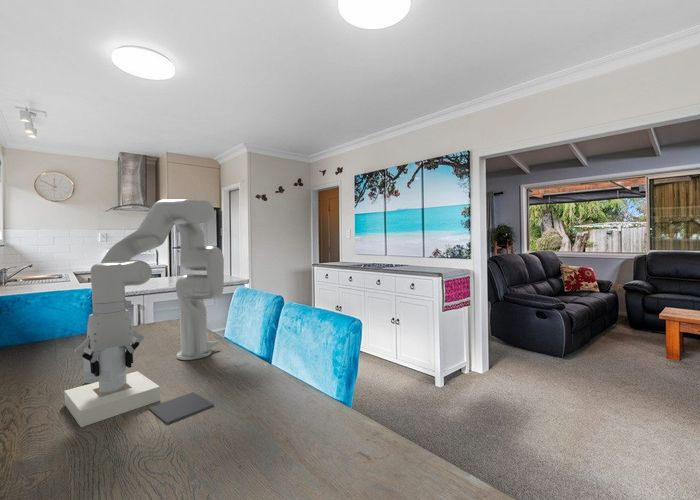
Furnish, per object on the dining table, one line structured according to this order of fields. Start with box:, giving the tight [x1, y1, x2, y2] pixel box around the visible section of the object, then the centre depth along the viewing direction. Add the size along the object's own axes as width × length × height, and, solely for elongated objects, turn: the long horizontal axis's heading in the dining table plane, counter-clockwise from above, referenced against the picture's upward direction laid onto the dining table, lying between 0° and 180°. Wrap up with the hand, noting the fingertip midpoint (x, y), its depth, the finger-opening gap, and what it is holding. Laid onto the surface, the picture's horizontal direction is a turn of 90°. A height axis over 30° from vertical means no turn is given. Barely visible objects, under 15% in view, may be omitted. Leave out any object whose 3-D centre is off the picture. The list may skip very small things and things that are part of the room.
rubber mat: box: [148, 391, 215, 425], centre depth 94 cm, size 12×12×1 cm
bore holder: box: [64, 371, 161, 428], centre depth 97 cm, size 18×18×4 cm
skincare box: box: [98, 346, 127, 392], centre depth 97 cm, size 6×4×12 cm
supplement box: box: [82, 346, 99, 384], centre depth 114 cm, size 7×7×13 cm
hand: (112, 370), depth 97 cm, fingers closed on skincare box, 7 cm apart
